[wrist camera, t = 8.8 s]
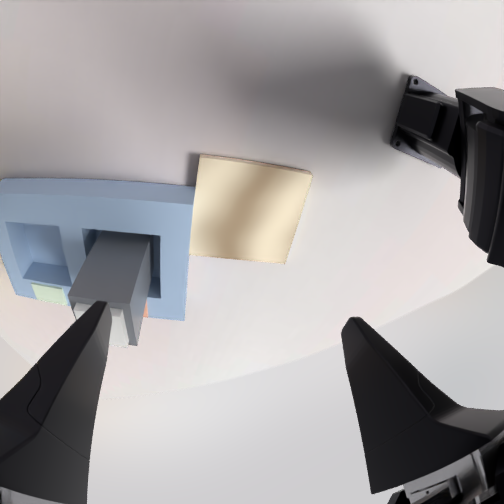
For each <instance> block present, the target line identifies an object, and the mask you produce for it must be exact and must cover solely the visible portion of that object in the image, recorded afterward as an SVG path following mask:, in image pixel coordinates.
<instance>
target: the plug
mask: <svg viewBox="0 0 504 504" xmlns="http://www.w3.org/2000/svg"><path fill="white" fill-rule="evenodd" d="M153 270H154V247H153V235H149V234H139V233H128V232H117V231H107V230H102V231H101V233H100V235H99V236H98V238H97V240H96V242H95V243H94V245H93V247H92V249H91V250H90V252H89V254H88V256H87V258H86V259H85V261H84V263H83V265H82V267H81V269H80V271H79V273H78V275H77V277H76V279H75V281H74V283H73V285H72V287H71V289H70V291H69V293H68V295H67V296H68V299H69V302H70V305H71V308H72V310H73V313H74V316H75V319H76V320H77V319H78V318H79V317H80V316H81V315H82V314H83V313H84V312H85V311H86V310H87V309H89V308H90V307H91V306H92V305H93V304H94V303H95V302H96V301H97V300H101V301H107V302H108V303H109V306H110V311H111V315H112V326H111V333H110V340H109V345H111V346H117V347H124V348H128V345H134V346H137V345H138V339H139V334H140V329H141V324H142V319H143V314H144V309H145V305H146V300H147V296H148V291H149V287H150V283H151V278H152V274H153Z"/></svg>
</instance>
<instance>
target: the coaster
mask: <svg viewBox="0 0 504 504" xmlns="http://www.w3.org/2000/svg"><path fill="white" fill-rule="evenodd" d="M312 178H313V175H312V173H311V172H309V171H305V170H300V169H294V168H289V167H284V166H278V165H273V164H267V163H261V162H255V161H248V160H242V159H235V158H228V157H220V156H212V155H203V154H200V159H199V166H198V173H197V181H196V189H195V198H194V207H193V216H192V226H191V237H190V248H189V255H195V256H205V257H216V258H226V259H237V260H248V261H259V262H270V263H281V264H285V262H286V259H287V256H288V253H289V250H290V247H291V244H292V241H293V238H294V235H295V232H296V229H297V226H298V223H299V220H300V216H301V213H302V210H303V207H304V204H305V200H306V197H307V194H308V191H309V187H310V184H311V181H312Z"/></svg>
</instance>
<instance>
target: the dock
mask: <svg viewBox="0 0 504 504" xmlns="http://www.w3.org/2000/svg"><path fill="white" fill-rule="evenodd" d="M195 189H196V187H192V186H182V185H171V184H160V183H148V182H134V181H118V180H99V179H73V178H4V179H3V180H1V181H0V254H1V257H2V260H3V263H4V265H5V268H6V271H7V273H8V276H9V279H10V281H11V284H12V286H13V288H14V291H15V293H16V295H20V296H24V297H28V298H33V299H37V300H41V301H46V302H51V303H56V304H61V305H68V306H71V305H70V302H69V299H68V296H67V295H68V293H69V291H70V289H71V287H72V285H73V283H74V281H75V279H76V277H77V275H78V273H79V271H80V269H81V267H82V265H83V263H84V261H85V259H86V258H87V256H88V254H89V252H90V250H91V249H92V247H93V245H94V243H95V242H96V240H97V238H98V236H99V235H100V233H101V231H102V230H107V231H117V232H128V233H139V234H149V235H153V247H154V270H153V274H152V278H151V283H150V287H149V291H148V296H147V300H146V305H145V309H144V314H143V317H151V318H160V319H170V320H180V321H184V320H185V306H186V293H187V277H188V263H189V248H190V237H191V226H192V216H193V207H194V198H195Z"/></svg>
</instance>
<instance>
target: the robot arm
mask: <svg viewBox="0 0 504 504" xmlns="http://www.w3.org/2000/svg"><path fill="white" fill-rule="evenodd" d="M414 79H415V84H414ZM455 93H456V98H458V99H456V98H453V97H449V96H447V95H446V94H444V93H443V92H441V91H440V90H438V89H437V88H435V87H434V86H432V85H430V84H429V83H427V82H426V81H424V80H422V79H421V78H419V77H417V76H410V77H409V79H408V83H407V86H406V90H405V94H404V96H403V100H402V103H401V107H400V110H399V114H398V117H397V121H396V125H395V128H394V132H393V135H392V138H391V142H390V144H391V146H392V147H393V148H395V149H397V150H399V151H402V152H404V153H406V154H409V155H411V156H414V157H416V158H418V159H421V160H423V161H425V162H427V163H430V164H432V165H434V166H436V167H438V168H442V167H443V168H444V169H446V170H447V171H449V172H451V173H452V174H454V175H455V176H457V177H458V178H460V179H461V187H460V199H459V200H458V208H459V210H460V211H461V213H462V215H463V220H464V223H465V226H466V228H467V230H468V232H469V238H470V239H471V240H472V241H473V242H474V243H475V245H477V246H478V247H479V248H480V249H482V250H483V251H484V252H486V253H488V257H487V262H488V263H490V264H494V265H499V266H502V267H504V90H502V89H498V88H494V87H483V88H465V89H455ZM396 141H398V144H397V145H396ZM111 326H112V315H111V311H110V306H109V303H108V302H107V301H101V300H97V301H96V302H95V303H94V304H93V305H92V306H91V307H90V308H89V309H87V310H86V311H85V312H84V313H83V314H82V315H81V316H80V317H79V318H78V319H77V320H76V321H75V322H74V323H73V324H72V325H71V326H70V328H69V329H68V330H67V331H66V332H65V333H64V334H63V335H62V336H61V337H60V338H59V339H58V340H57V341H56V342H55V343H54V344H53V345H52V346H51V347H50V348H49V350H48V351H47V352H46V353H45V354H44V355H43V356H42V357H41V358H40V359H39V360H38V362H37V363H38V364H37V363H36V364H35V365H34V366H33V367H32V368H31V369H30V370H29V371H28V373H27V374H26V375H25V376H24V377H23V378H22V379H21V380H20V381H19V382H18V383H17V384H16V385H15V386H14V387H13V388H12V389H11V390H10V391H9V392H8V393H7V394H5V395H4V396H3V398H1V400H0V504H87V486H88V473H89V462H90V461H89V460H90V452H91V443H92V436H93V429H94V422H95V416H96V410H97V404H98V399H99V394H100V389H101V384H102V380H103V375H104V371H105V366H106V361H107V355H108V347H109V340H110V333H111ZM341 337H342V344H343V350H344V357H345V364H346V370H347V374H348V378H349V382H350V386H351V391H352V395H353V399H354V404H355V408H356V413H357V417H358V422H359V427H360V432H361V437H362V442H363V447H364V453H365V458H366V464H367V470H368V476H369V482H370V489H371V494H375V493H378V492H382V491H385V490H388V489H391V488H394V487H397V486H400V485H403V486H404V489H402V490H400V491H398V492H395V493H393V494H392V496H391V498H390V500H389V502H388V504H504V410H500V411H498V410H484V409H474V408H466V407H463V406H461V405H459V404H457V403H456V402H454V401H453V400H452V399H451V398H450V397H448V396H447V395H446V394H445V393H443V392H442V391H441V390H440V389H438V388H437V387H436V386H435V385H434V384H432V383H431V382H430V381H429V380H428V379H427V378H426V377H425V376H423V374H422V373H420V372H419V371H418V370H417V369H416V368H415V367H414V366H413V365H412V364H411V363H410V362H409V361H408V360H407V359H405V358H404V357H403V356H402V355H401V354H400V353H399V352H398V351H397V350H396V349H395V348H394V347H392V346H391V345H390V344H389V343H388V342H387V341H386V340H385V339H384V338H383V337H381V335H379V334H378V333H377V332H376V331H375V330H374V329H373V328H372V327H371V326H370V325H368V324H367V323H366V322H365V321H364V320H363V319H362V318H360V317H350V318H349V319H348V321H347V323H346V324H345V326H344V327H343V329H342V332H341Z"/></svg>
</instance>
